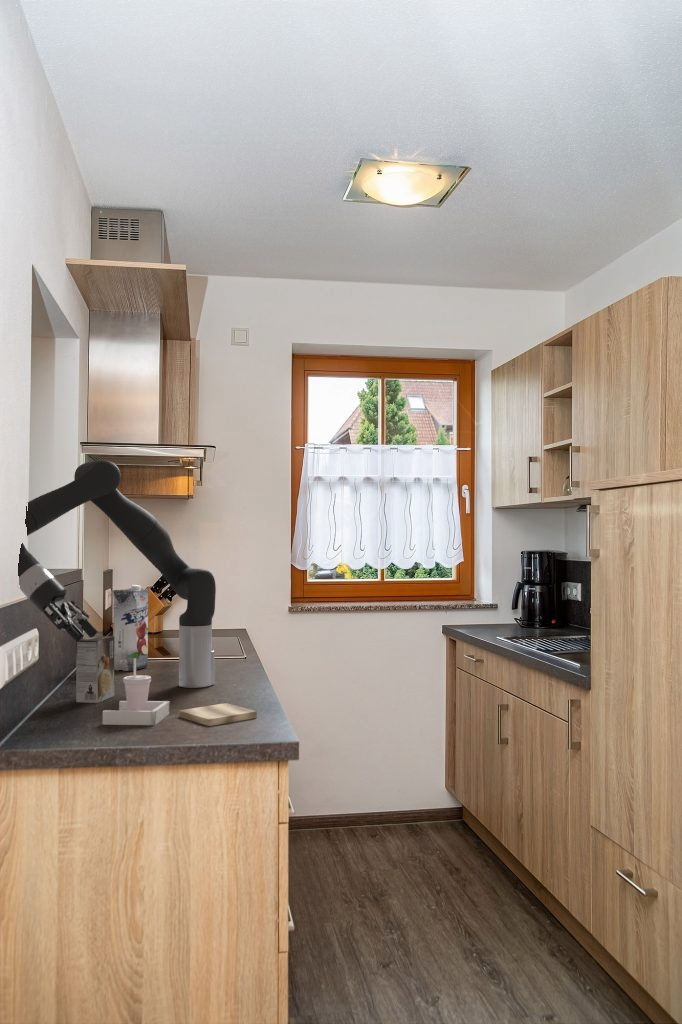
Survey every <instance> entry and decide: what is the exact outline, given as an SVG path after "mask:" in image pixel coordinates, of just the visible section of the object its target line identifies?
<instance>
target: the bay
mask: <svg viewBox="0 0 682 1024" xmlns="http://www.w3.org/2000/svg"><path fill="white" fill-rule="evenodd" d="M118 702H119V703H118V704H119V705H118V710H117V709H116V710H114V709H113V710H111V709H108V710H107V709H106V710H105V709H103V711H102V725H103V726H106V725H108V726H110V725H111V726H112V725H113V726H156V725H157V724H158V723H160V722H161V721H162V720H163V719H165V718H166V717H167V716H169V715H170V710H171V707H170V706H171V705H170V703H171V701H169V700H161V701H160V700H147V708H146V711H128V708H127V700H119V701H118Z"/></svg>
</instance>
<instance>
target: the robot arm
mask: <svg viewBox="0 0 682 1024" xmlns="http://www.w3.org/2000/svg"><path fill="white" fill-rule="evenodd" d="M73 476H74V477H73V478H74V480H73V481H70V482H69V483H67V484H65V485H63V486H61V487H58V488H55V489H54V490H51V491H49V492H47V493H44V494H41V495H39V496H38V497H35V498H33V499H31V500H30V501H28V502H27V503H28V511H27V506H26V519H25V524H26V527H27V537H28V536H30V535H31V534H33V533H35V532H37V531H38V530H40V529H42V528H43V527H46V526H47V525H48V524H50V523H52V522H53V521H55V520H57V519H58V518H60V517H62V516H63V515H65V514H67V513H69V512H70V511H71V510H74V509H76V508H78V507H79V506H82V505H83V504H85V503H88V502H91V503H93V504H94V505H95V506H96V507H97V508H99V510H100V511H102V512H103V513H104V514H105V515H106V516H107V517H108V518H109V519H110V520H111V521H112V523H113V524H114V525H115V526H116V527H117V529H118V530H120V531H121V532H122V534H123V535H124V536H125V537H126V538H127V539H128V541H129V542H130V543H132V545H133V546H134V547H135V548H136V549H137V550H138V551H139V552H140V553H141V554H142V555H143V556H144V557H145V558H146V559H147V560H148V562H150V563H151V564H152V565H153V566H154V567H155V569H157V570H158V572H160V574H161V576H163V578H164V579H165V580H166V581H167V583H168V585H170V587H171V589H172V590H173V591H174V593H176V595H177V596H178V597H179V598H181V599H183V600H185V601H187V602H186V604H187V605H186V609H185V611H184V612H183V613H181V614H180V615H179V619H178V687H180V688H181V687H182V688H189V689H190V688H191V689H193V688H194V689H195V688H197V689H198V688H206V687H210V686H212V685H215V683H216V680H215V679H216V677H215V675H216V672H215V671H216V668H215V667H216V664H215V663H216V661H215V660H216V652H215V650H213V642H212V641H213V635H212V633H213V618H214V615H215V610H216V593H217V591H216V590H217V588H216V587H217V586H216V580H215V577H214V575H213V573H212V572H210V571H209V570H208V569H204V568H193V567H191V566H189V565H188V563H186V562H185V561H184V560H183V558H181V557H180V556H179V555H178V553H177V552H176V549H175V548H174V545H173V542H172V539H171V536H170V534H169V533H168V531H167V530H166V529H165V527H164V525H162V524H161V523H160V522H159V520H158V519H157V518H156V517H155V516H154V515H153V514H151V512H149V511H148V510H146V508H145V509H144V508H143V507H142V506H140V505H138V504H137V503H135V502H134V501H132V500H130V499H128V497H126V496H125V495H123V494H122V493H121V491H119V490H118V487H119V486H120V484H121V480H122V474H121V470H120V469H119V467H118V466H117V465H116V464H115V462H113V461H110V460H108V459H107V460H106V459H98V460H93V461H87V462H84V463H82V464H80V465H78V467H77V468H76V469H75V471H74V475H73ZM18 576H19V585H20V588H19V589H20V591H21V592H22V594H24V596H25V597H27V598H28V599H29V601H30V602H31V603H32V604H33V605H34V606H35V607H36V608H37V609H38V610H39V612H41V613H43V614H44V615H45V616H46V618H47V619H48V620H49V621H50V622H51V623H52V624H53V625H54V627H56V629H58V630H60V631H61V630H62V631H64V632H66V633H67V634H69V636H70V637H71V638H72V639H73V640H74V641H75V642H78V641H80V640H81V639H83V638H84V637H85V633H86V635H87V636H88V637H91V638H92V637H94V636H97V634H98V629H97V628H96V627H95V626H94V625H93V624H92V623H91V622H90V621H89V618H90V615H89V614H88V613H87V612H86V611H85V610H84V609H83V608H82V607H81V606H80V605H79V604H78V603H77V602H76V601H75V600H74V599H71V600H70V601H68V600H67V599H66V598H65V596H66V595H67V593H68V591H67V588H66V587H65V586H63V584H62V583H61V582H60V581H59V580H58V579H57V578H56V577H55V576H54V575H53V574H52V573H51V571H49V570H48V569H47V568H46V567H44V566H43V565H42V564H41V563H40V562H39V561H38V560H37V559H36V558H35V557H34V555H33V554H32V553H30V552H29V551H28V549H27V548H26V545H24V543H22V544H21V548H20V554H19V563H18ZM77 626H78V627H77ZM79 627H80V628H79ZM81 629H82V631H81ZM83 631H84V633H83Z"/></svg>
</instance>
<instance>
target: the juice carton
mask: <svg viewBox="0 0 682 1024" xmlns="http://www.w3.org/2000/svg"><path fill="white" fill-rule="evenodd" d="M112 599H113V605H112V607H113V617H112V618H113V621H112V623H113V624H112V627H113V629H112V630H113V631H112V634H113V635H112V636H114V671H119V670H123V671H124V672H134V659H135V658H136V671H138V669H139V670H143V669H145V668H148V662H149V661H148V659H149V658H148V657H149V655H148V654H149V625H148V624H149V589H148V588H142V586H141V585H137V584H132V585H131V588H125V589H114V590H112ZM142 668H143V669H142Z"/></svg>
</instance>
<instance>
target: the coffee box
mask: <svg viewBox="0 0 682 1024" xmlns="http://www.w3.org/2000/svg"><path fill="white" fill-rule="evenodd" d="M75 642H76V641H75ZM75 646H76V650H75V651H76V653H75V656H76V657H75V658H76V663H75V664H76V665H75V667H76V669H75V670H76V671H75V672H76V673H75V674H76V675H75V676H76V685H75V686H76V687H75V688H76V693H75V694H76V696H75V698H76V700H75V702H76V703H86V704H87V703H89V704H90V703H91V704H99V703H101V702H103V701H106V700H109V699H111V698H113V697H115V670H114V636H113V635H111V636H109V635H108V636H107V635H95V636H94V637H92V638H91V637H89V636H88V637H85V638H84V637H83V638H82V639H81V640H80V641H78V642H76V645H75Z"/></svg>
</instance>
